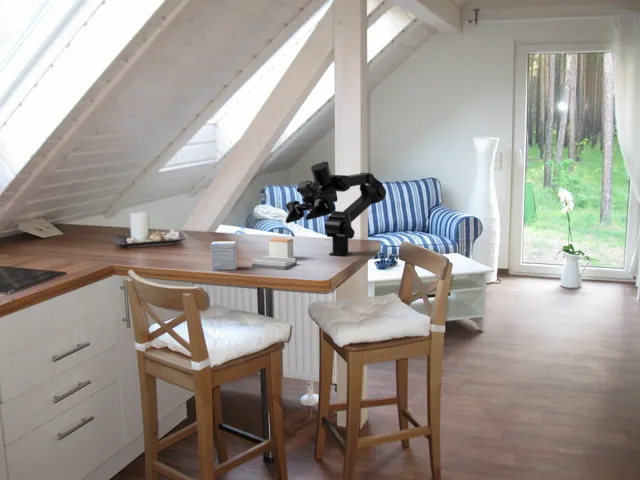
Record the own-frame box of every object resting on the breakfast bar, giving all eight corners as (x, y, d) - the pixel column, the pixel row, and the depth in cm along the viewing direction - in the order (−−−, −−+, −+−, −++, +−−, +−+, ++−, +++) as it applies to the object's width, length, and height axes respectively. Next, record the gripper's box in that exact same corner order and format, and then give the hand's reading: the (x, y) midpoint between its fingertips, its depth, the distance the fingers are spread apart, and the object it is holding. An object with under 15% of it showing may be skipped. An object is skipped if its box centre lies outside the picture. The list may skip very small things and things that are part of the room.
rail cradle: (264, 261, 231) (264, 255, 231) (296, 264, 226) (296, 257, 226) (251, 266, 223) (251, 260, 223) (284, 269, 218) (284, 263, 218)
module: (275, 257, 239) (275, 237, 238) (293, 258, 236) (293, 238, 235) (269, 259, 235) (269, 239, 234) (287, 261, 232) (287, 240, 231)
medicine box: (237, 267, 223) (236, 241, 222) (236, 270, 219) (235, 243, 217) (213, 267, 223) (212, 241, 221) (211, 270, 219) (210, 243, 217)
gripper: (292, 180, 234) (265, 202, 224) (332, 171, 222) (305, 195, 211) (306, 208, 238) (280, 231, 228) (346, 200, 225) (321, 225, 215)
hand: (296, 220), depth 220 cm, fingers open, 9 cm apart
